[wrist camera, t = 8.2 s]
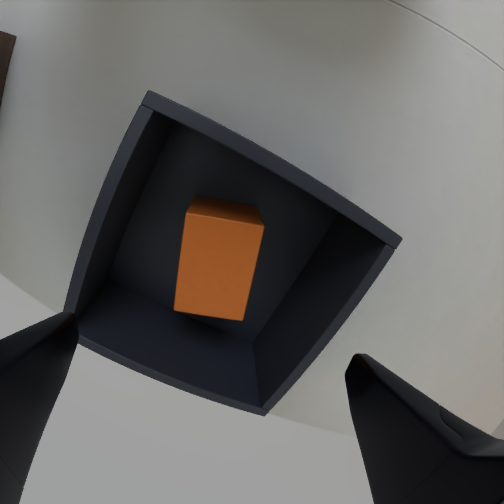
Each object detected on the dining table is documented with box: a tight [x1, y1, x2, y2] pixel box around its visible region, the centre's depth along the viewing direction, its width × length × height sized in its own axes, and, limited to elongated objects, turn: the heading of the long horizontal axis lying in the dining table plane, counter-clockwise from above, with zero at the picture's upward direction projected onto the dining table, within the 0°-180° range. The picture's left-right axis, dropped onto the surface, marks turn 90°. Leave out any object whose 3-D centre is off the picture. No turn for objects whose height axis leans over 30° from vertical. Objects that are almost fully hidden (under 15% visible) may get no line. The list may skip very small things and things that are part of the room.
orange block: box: [174, 196, 264, 321], centre depth 16 cm, size 5×4×4 cm
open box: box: [63, 90, 402, 416], centre depth 16 cm, size 12×12×7 cm
